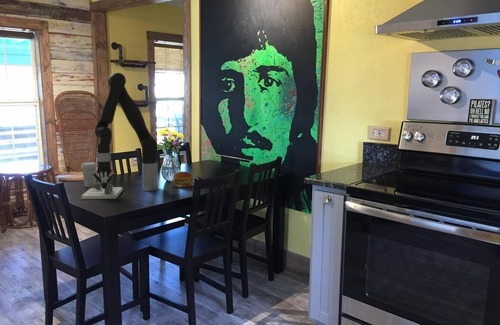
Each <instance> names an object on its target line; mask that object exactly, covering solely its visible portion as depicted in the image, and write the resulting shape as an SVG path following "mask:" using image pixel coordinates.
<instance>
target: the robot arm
mask: <svg viewBox="0 0 500 325" xmlns="http://www.w3.org/2000/svg"><path fill="white" fill-rule="evenodd" d="M126 83H127V79H126V77H125V75H124V74H123V73H121V72H115V73H114V72H113V74H110V75H109V76H108V78H107V84H108V86H109V92H108V95H107V99H106V100H105V103H104V105H103V108H102V111H101V115H100V118H99V120H98V122H97V124H96V127H94V128H95V129H94V134H95V136H96V137H97V138H99V139H100V141H99V142H98V143H97V145H96V146H97V147H96V148H97V153H96V155H97V156H96V163H97V164H96V165H97V167H96V173H94V174H93V175H94V177H95V178H96V181H98V182H99V183H101V188H103V189H105V188H106V187H107V186H108V183H109V182H111V181H112V179H113V178H114V177H115V175H116V173H115V172H113V170H112V167H111V166H112V165H111V163H112V162H111V159H112V158H111V142H112V138H113V133H112V129H111V128H110V127H109V125H111V124H112V123H113V122H114V118H115V113H116V111H117V110H116V109H117V107H118V103H119V106H120V107H121V110H122V112H123V114H124V116H125V118H126V119H127V122H128V123H129V125H130V126H131V128H132V129H133V130H134V132H135V134H136V136H137V138H138V141H139V144H140V146H141V169H142V170H141V172H142V174H141V176H142V190H143V191H146V192H154V191H158V190H159V173H158V143H157V140H156V139H154V136H152V135H151V133H150V131H149V129H148V128H147V124H146V122H145V119H144V116H143V114H142V112H141V109H140V108H139V105H138V104H137V103H136V102H135V100H134V99H133V97H131V96H130V94H129V93H128V90H127V89H126V86H125V85H126ZM109 176H110V177H109Z"/></svg>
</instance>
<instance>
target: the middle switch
mask: <svg viewBox="0 0 500 325" xmlns="http://www.w3.org/2000/svg"><path fill="white" fill-rule="evenodd" d="M107 186H108V187H110V191H112V190H113V184H111V183H109V184H107Z"/></svg>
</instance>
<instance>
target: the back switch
mask: <svg viewBox="0 0 500 325" xmlns="http://www.w3.org/2000/svg"><path fill="white" fill-rule="evenodd" d="M95 188H96V189H101V188H102V182H99V181H98V182H96V186H95Z"/></svg>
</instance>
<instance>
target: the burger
mask: <svg viewBox="0 0 500 325" xmlns="http://www.w3.org/2000/svg"><path fill="white" fill-rule="evenodd" d="M193 177H194V176H193V174H192V173H190V172H188V171H178V172H176V173H175V174H173V175H172V185H173V186H174V187H175V188H177V189H186V188H187V189H188V188H191V187H192V186H193V185H194V178H193Z"/></svg>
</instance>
